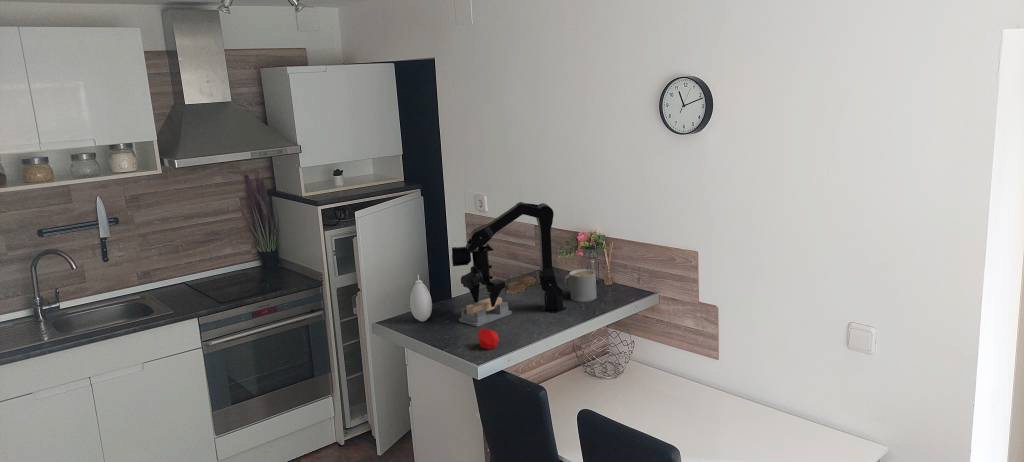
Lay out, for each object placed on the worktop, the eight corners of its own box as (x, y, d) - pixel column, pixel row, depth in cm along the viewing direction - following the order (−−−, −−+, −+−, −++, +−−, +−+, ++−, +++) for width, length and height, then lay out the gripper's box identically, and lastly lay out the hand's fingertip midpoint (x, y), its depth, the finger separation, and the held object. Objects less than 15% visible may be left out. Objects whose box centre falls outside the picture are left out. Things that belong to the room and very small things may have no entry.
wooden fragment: (519, 295, 294) (519, 292, 294) (495, 293, 299) (495, 291, 299) (545, 277, 316) (545, 275, 316) (523, 276, 321) (522, 274, 321)
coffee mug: (601, 297, 283) (600, 272, 281) (582, 303, 277) (581, 277, 275) (578, 290, 294) (577, 266, 291) (559, 296, 288) (558, 271, 286)
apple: (503, 332, 237) (489, 319, 242) (486, 341, 234) (472, 327, 239) (503, 347, 241) (490, 334, 246) (486, 357, 238) (473, 343, 243)
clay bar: (502, 305, 272) (502, 297, 271) (473, 315, 263) (473, 307, 262) (495, 303, 275) (494, 296, 274) (466, 313, 266) (466, 305, 265)
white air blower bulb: (427, 324, 266) (422, 277, 262) (408, 323, 269) (403, 276, 265) (436, 317, 273) (432, 271, 270) (418, 316, 276) (413, 270, 272)
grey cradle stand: (511, 313, 272) (510, 302, 271) (477, 326, 260) (475, 314, 259) (493, 308, 279) (492, 297, 278) (459, 321, 268) (458, 309, 267)
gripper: (447, 264, 267) (451, 305, 270) (481, 272, 253) (484, 315, 256) (470, 258, 274) (474, 298, 277) (504, 264, 261) (508, 306, 264)
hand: (484, 304), depth 269 cm, fingers open, 9 cm apart
